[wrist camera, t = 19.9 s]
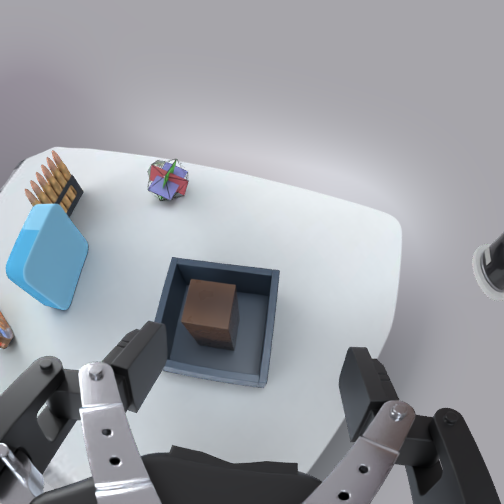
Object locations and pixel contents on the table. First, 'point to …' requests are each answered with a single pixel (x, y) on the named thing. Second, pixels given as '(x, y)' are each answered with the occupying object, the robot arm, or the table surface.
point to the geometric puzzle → (167, 179)
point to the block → (212, 314)
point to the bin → (249, 329)
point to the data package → (48, 256)
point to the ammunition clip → (56, 186)
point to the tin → (5, 332)
